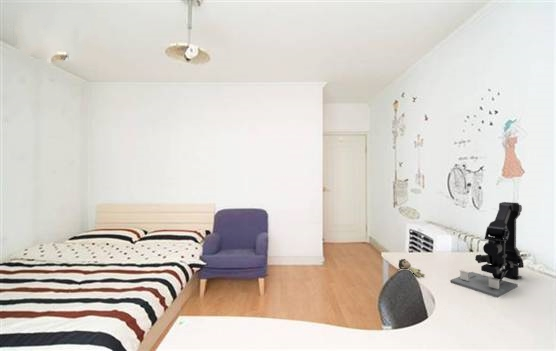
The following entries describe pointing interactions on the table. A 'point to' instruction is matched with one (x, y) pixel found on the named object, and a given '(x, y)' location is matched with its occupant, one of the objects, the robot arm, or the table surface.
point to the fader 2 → (493, 282)
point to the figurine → (409, 267)
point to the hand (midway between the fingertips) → (497, 283)
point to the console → (484, 284)
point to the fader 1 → (464, 275)
